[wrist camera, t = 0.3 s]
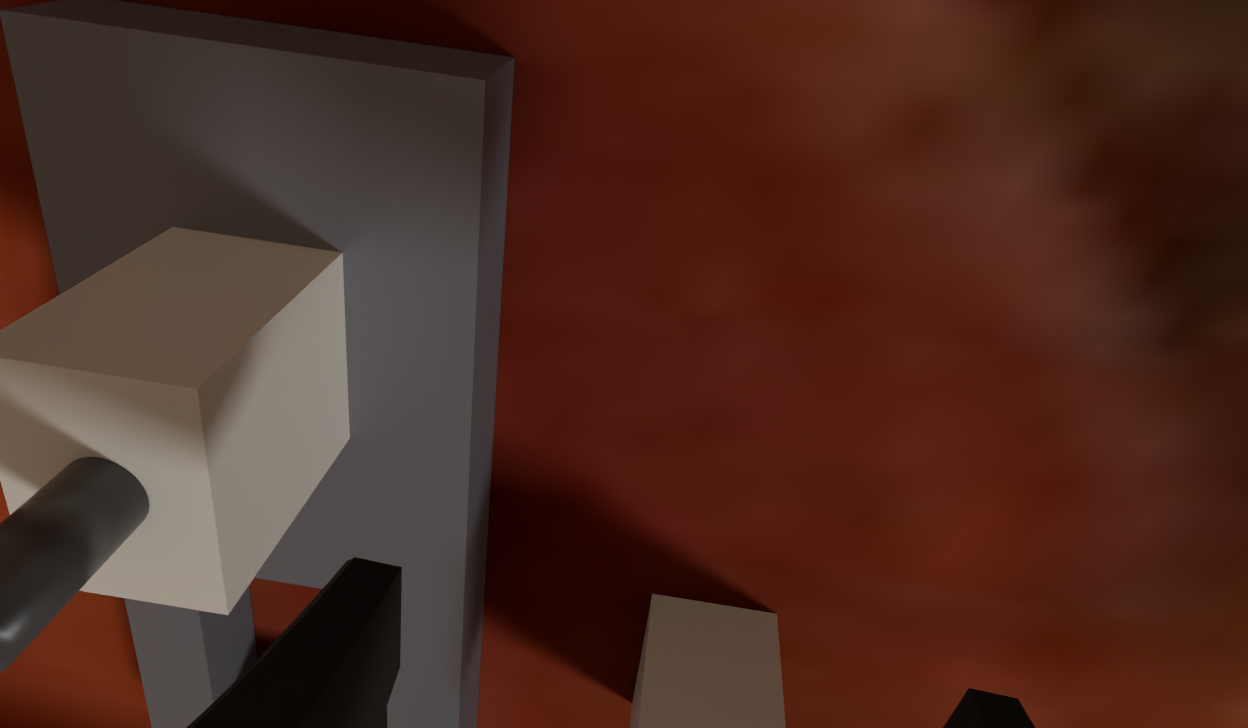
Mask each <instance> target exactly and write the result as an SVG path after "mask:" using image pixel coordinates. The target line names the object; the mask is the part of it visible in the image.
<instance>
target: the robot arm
mask: <svg viewBox="0 0 1248 728" xmlns="http://www.w3.org/2000/svg"><path fill="white" fill-rule="evenodd" d="M401 590H402V567H399V566H394V565H390V564H385V563H380V562H375V561H371V560H366V559H361V558H357V557H354V558H352V559H350V560H348V561H346V562H345V563H344V565H343V566H342V567H341V568H340V569H339V570H338V572H337V573H336V574H335V575H334V576H333V578H332V579H331V580H330V581H329V582H328V583H327V585H326V586H325V587H324V588H323V589H322V590H321V591H320V593H319V594H318V595H317V596H316V597H315V598H314V599H313V600H312V602H311V603H310V604H309V605H308V606H307V607H306V608H305V609H304V610H303V611H302V613H301V614H300V615H299V616H298V617H297V618H296V619H295V620H294V621H293V622H292V623H291V624H290V625H289V627H288V628H287V629H286V630H285V631H284V632H283V633H282V634H281V635H280V636H279V637H278V638H277V639H276V640H275V641H274V642H273V643H272V645H271V646H270V647H269V648H268V649H267V650H266V651H265V652H264V653H263V654H262V655H261V656H260V657H259V658H258V659H257V660H256V661H255V662H254V663H253V664H252V665H251V666H250V667H249V668H248V669H247V670H246V671H245V672H244V673H243V674H242V675H241V676H240V677H239V678H238V679H237V680H236V681H235V682H234V683H233V684H232V685H231V686H230V687H229V688H228V689H227V690H226V691H225V692H224V693H223V694H222V695H221V696H220V697H219V698H217V699H216V700H215V701H214V702H213V703H212V704H211V705H210V706H209V707H208V708H207V709H206V710H205V711H204V712H203V713H202V714H201V715H199V716H198V717H197V718H196V719H195V720H194V721H193V722H192V723H191V724H190V725H188V726H187V727H186V728H380V725H381V722H382V719H383V716H384V713H385V710H386V707H387V705H388V702H389V699H390V696H391V693H392V690H393V687H394V684H395V681H396V678H397V675H398V672H399V669H400V651H401ZM943 728H1035V727H1034V725H1033V723H1032V722H1031V720H1030V718H1029V717H1028V715H1027V713H1026V712H1025V710H1024V708H1023V707H1022V705H1021V703H1020V702H1019V700H1018V699H1017V698H1012V697H1008V696H1003V695H998V694H994V693H989V692H984V691H980V690H975V689H970V688H969V689H968V691H967V692H966V694H965V695H964V697H963V698H962V700H961V701H960V703H959V704H958V706H957V707H956V709H955V710H954V712H953V713H952V715H951V717H950V718H949V720H948V721H947V723H946V724H945V726H944V727H943Z"/></svg>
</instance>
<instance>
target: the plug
mask: <svg viewBox="0 0 1248 728" xmlns="http://www.w3.org/2000/svg"><path fill="white" fill-rule="evenodd" d="M629 728H785V716H784V703H783V690H782V676H781V663H780V650H779V637H778V624H777V614H775V613H769V612H763V611H757V610H750V609H744V608H738V607H732V606H726V605H720V604H713V603H707V602H701V601H695V600H689V599H683V598H676V597H670V596H664V595H658V594H652V597H651V603H650V608H649V614H648V619H647V625H646V630H645V636H644V641H643V647H642V652H641V658H640V663H639V669H638V674H637V680H636V685H635V691H634V696H633V702H632V709H631V718H630V727H629Z"/></svg>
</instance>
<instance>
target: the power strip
mask: <svg viewBox="0 0 1248 728" xmlns="http://www.w3.org/2000/svg"><path fill="white" fill-rule="evenodd" d="M0 17H1V22H2V27H3V31H4V36H5V41H6V45H7V50H8V55H9V60H10V64H11V69H12V74H13V78H14V83H15V88H16V92H17V97H18V102H19V106H20V111H21V116H22V121H23V125H24V130H25V135H26V139H27V144H28V149H29V153H30V158H31V163H32V167H33V172H34V177H35V181H36V186H37V191H38V196H39V200H40V205H41V210H42V214H43V219H44V224H45V228H46V233H47V238H48V242H49V247H50V252H51V257H52V261H53V266H54V271H55V275H56V280H57V285H58V289H59V294H60V295H59V296H57V297H55V298H54V299H52V300H50V301H49V302H47V303H45V304H44V305H42V306H40V307H39V308H37V309H35V310H34V311H32V312H30V313H29V314H27V315H25V316H24V317H22V318H20V319H19V320H17V321H15V322H14V323H12V324H10V325H9V326H7V327H5V328H4V329H2V330H0V481H1V485H2V488H3V492H4V495H5V499H6V502H7V506H8V510H9V513H10V516H9V517H7V518H6V519H5V520H4V521H3V522H2V523H1V524H0V671H3V670H4V669H6V668H7V667H8V666H10V664H11V663H12V662H13V661H14V660H15V659H16V658H17V657H18V656H19V655H20V654H21V653H22V652H23V650H24V649H25V648H26V647H27V646H28V645H29V644H30V643H31V642H32V641H33V640H34V639H35V637H36V636H37V635H38V634H39V633H40V632H41V631H42V630H43V629H44V628H45V627H46V626H47V625H48V623H49V622H50V621H51V620H52V619H53V618H54V617H55V616H56V615H57V614H58V613H59V612H60V611H61V609H62V608H63V607H64V606H65V605H66V604H67V603H68V602H69V601H70V600H71V599H72V598H73V596H74V595H75V594H76V593H77V592H78V591H85V592H91V593H97V594H103V595H109V596H115V597H121V598H124V599H125V604H126V608H127V613H128V618H129V623H130V627H131V632H132V637H133V641H134V646H135V651H136V655H137V660H138V665H139V669H140V674H141V679H142V684H143V688H144V693H145V698H146V702H147V707H148V712H149V716H150V721H151V726H152V728H186V727H187V726H188V725H190V724H191V723H192V722H193V721H194V720H195V719H196V718H197V717H198V716H199V715H201V714H202V713H203V712H204V711H205V710H206V709H207V708H208V707H209V706H210V705H211V704H212V703H213V702H214V701H215V700H216V699H217V698H219V697H220V696H221V695H222V694H223V693H224V692H225V691H226V690H227V689H228V688H229V687H230V686H231V685H232V684H233V683H234V682H235V681H236V680H237V679H238V678H239V677H240V676H241V675H242V674H243V673H244V672H245V671H246V670H247V669H248V668H249V667H250V666H251V665H252V664H253V663H254V662H255V661H256V660H257V659H258V656H257V648H256V639H255V631H254V622H253V614H252V605H251V597H250V589H249V584H250V583H251V581H252V580H253V578H259V579H265V580H271V581H277V582H283V583H290V584H296V585H302V586H308V587H314V588H320V589H323V588H324V587H325V586H326V585H327V583H328V582H329V581H330V580H331V579H332V578H333V576H334V575H335V574H336V573H337V572H338V570H339V569H340V568H341V567H342V566H343V565H344V563H345V562H346V561H348V560H350V559H352V558H354V557H357V558H361V559H366V560H371V561H375V562H380V563H385V564H390V565H394V566H399V567H402V590H401V651H400V669H399V672H398V675H397V678H396V681H395V684H394V687H393V690H392V693H391V696H390V699H389V702H388V705H387V707H386V710H385V713H384V716H383V719H382V722H381V725H380V728H477V715H478V697H479V679H480V662H481V644H482V626H483V609H484V591H485V573H486V556H487V538H488V521H489V503H490V485H491V468H492V450H493V432H494V415H495V397H496V379H497V362H498V344H499V326H500V309H501V291H502V273H503V256H504V238H505V221H506V203H507V185H508V168H509V150H510V132H511V115H512V97H513V79H514V62H515V57H508V56H501V55H494V54H487V53H480V52H473V51H466V50H459V49H452V48H445V47H438V46H432V45H425V44H418V43H411V42H404V41H397V40H390V39H383V38H376V37H369V36H362V35H355V34H348V33H341V32H334V31H327V30H321V29H314V28H307V27H300V26H293V25H286V24H279V23H272V22H265V21H258V20H251V19H244V18H237V17H230V16H223V15H217V14H210V13H203V12H196V11H189V10H182V9H175V8H168V7H161V6H154V5H147V4H140V3H133V2H126V1H119V0H57V1H51V2H45V3H38V4H32V5H26V6H19V7H13V8H6V9H0Z"/></svg>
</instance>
